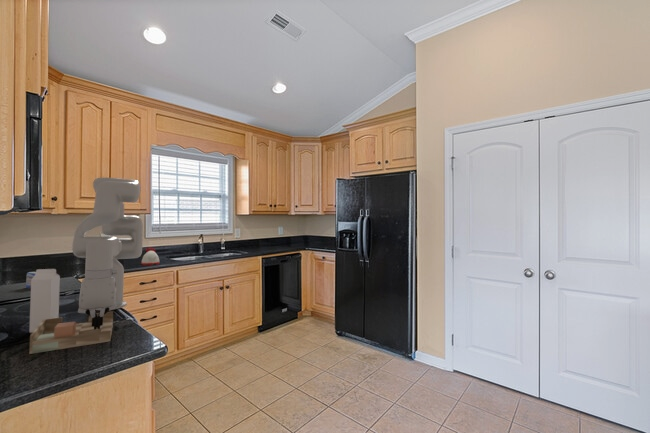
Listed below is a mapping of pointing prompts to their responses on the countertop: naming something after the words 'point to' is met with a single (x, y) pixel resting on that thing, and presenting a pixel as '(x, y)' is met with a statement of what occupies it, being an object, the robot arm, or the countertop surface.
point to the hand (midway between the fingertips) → (97, 327)
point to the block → (65, 329)
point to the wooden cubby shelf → (84, 335)
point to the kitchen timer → (150, 257)
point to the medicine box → (29, 279)
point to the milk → (44, 297)
